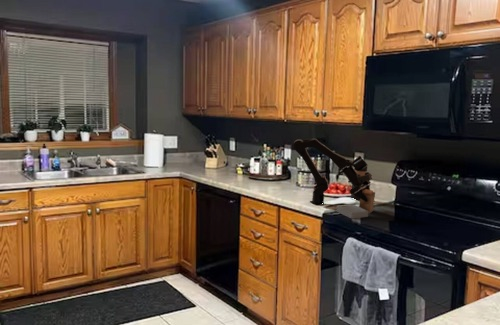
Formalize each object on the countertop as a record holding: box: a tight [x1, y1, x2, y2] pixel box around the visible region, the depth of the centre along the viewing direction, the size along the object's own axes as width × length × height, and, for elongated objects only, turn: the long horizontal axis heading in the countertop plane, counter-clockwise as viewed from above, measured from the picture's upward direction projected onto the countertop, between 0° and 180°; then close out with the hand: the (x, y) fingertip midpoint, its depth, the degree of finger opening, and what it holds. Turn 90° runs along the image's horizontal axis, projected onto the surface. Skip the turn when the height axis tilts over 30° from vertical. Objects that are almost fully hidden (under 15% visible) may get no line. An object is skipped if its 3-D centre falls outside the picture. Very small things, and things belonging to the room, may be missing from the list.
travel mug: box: [350, 165, 368, 201], centre depth 262 cm, size 8×8×20 cm
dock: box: [336, 204, 369, 219], centre depth 233 cm, size 12×11×3 cm
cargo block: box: [363, 189, 374, 194], centre depth 239 cm, size 4×4×3 cm
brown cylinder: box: [358, 191, 376, 214], centre depth 239 cm, size 6×6×10 cm
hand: (369, 199), depth 238 cm, fingers open, 8 cm apart
